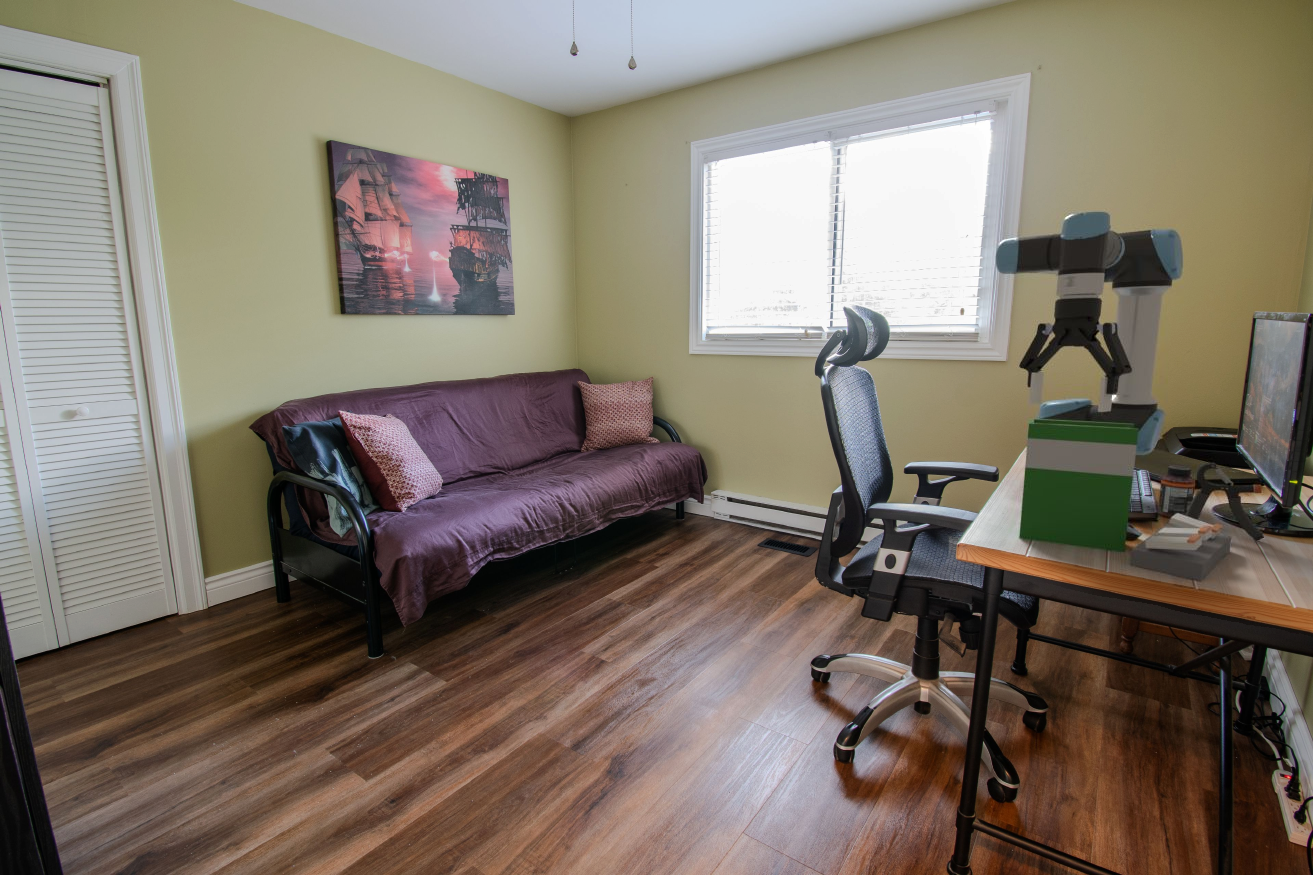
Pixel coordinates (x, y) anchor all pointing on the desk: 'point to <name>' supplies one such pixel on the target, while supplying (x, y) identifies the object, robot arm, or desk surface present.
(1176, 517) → the rocker
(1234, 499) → the hand grip strengthener
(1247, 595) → the desk surface
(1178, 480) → the supplement bottle
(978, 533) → the desk surface
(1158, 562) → the rocker switch box
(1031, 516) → the hardback book
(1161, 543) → the rocker
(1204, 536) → the middle rocker
